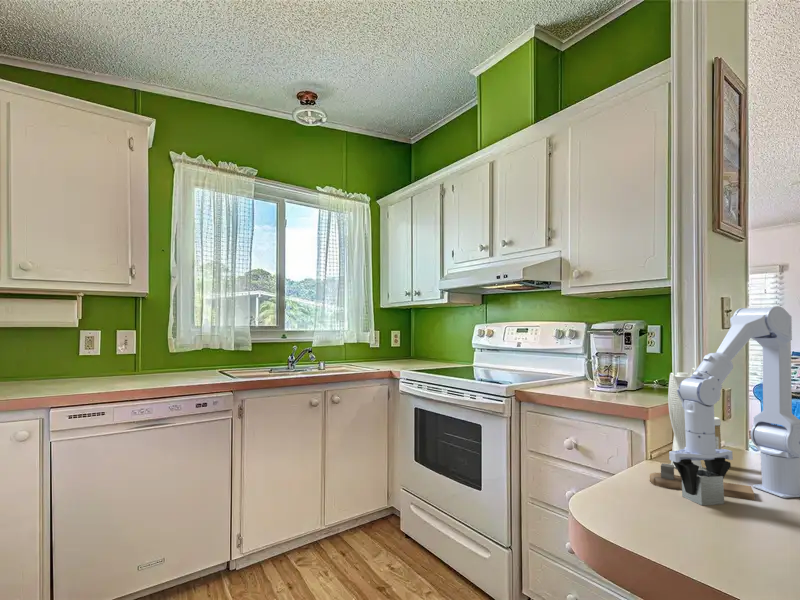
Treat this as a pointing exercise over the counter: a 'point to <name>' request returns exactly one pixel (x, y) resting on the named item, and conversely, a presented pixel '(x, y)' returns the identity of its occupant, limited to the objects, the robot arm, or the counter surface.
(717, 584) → the counter surface
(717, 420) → the sprinkles bottle
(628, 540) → the counter surface
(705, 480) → the steel collar
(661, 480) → the walnut base
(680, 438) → the skyscraper
